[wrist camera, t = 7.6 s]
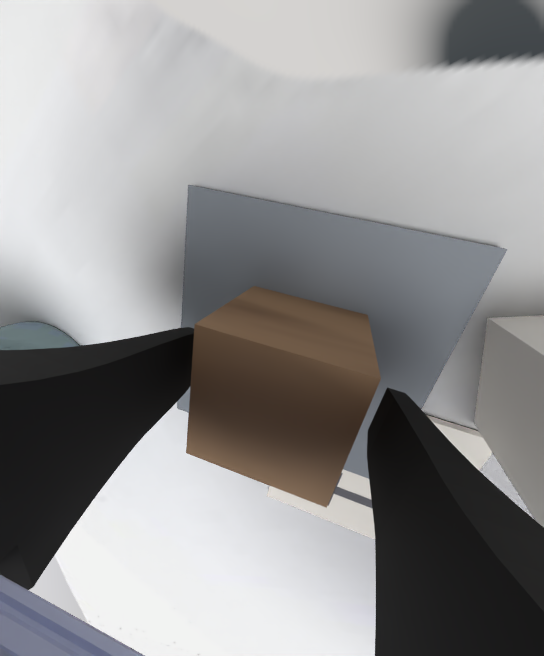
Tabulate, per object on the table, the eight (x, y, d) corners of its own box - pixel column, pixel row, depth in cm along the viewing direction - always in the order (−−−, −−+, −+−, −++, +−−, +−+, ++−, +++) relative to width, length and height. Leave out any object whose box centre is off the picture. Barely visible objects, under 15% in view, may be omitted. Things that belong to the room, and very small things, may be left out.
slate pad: (379, 474, 14) (381, 483, 14) (181, 403, 16) (177, 408, 16) (499, 248, 9) (507, 249, 9) (194, 186, 11) (188, 184, 11)
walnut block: (334, 408, 13) (326, 507, 8) (239, 378, 14) (186, 453, 9) (367, 314, 11) (380, 378, 6) (253, 285, 12) (194, 324, 7)
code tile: (413, 548, 15) (415, 556, 15) (268, 490, 17) (266, 496, 17) (495, 436, 12) (500, 443, 11) (300, 375, 13) (299, 379, 13)
